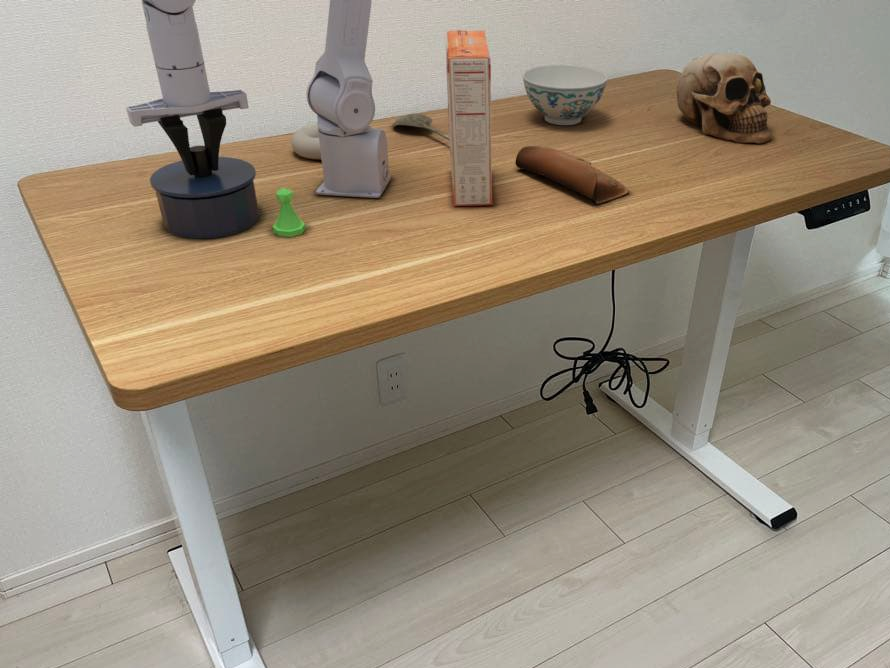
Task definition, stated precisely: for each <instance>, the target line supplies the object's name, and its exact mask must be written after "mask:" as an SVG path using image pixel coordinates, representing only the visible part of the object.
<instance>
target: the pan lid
mask: <svg viewBox="0 0 890 668" xmlns="http://www.w3.org/2000/svg"><path fill="white" fill-rule="evenodd" d="M190 151H191V155H192V159H193V162H194V166H195V171H196V175H190V174H189V173H188V172H187V171H186V169H185V166H184V164H183V161H182V160H179V161H175V162H171V163H168V164H166V165H164V166H161V167H160V168H158V169H156V170H155V171H154V172H153V173H152V174H151V176H150V178H149V184H150V186H151V188H152V189H153V190H154V191H155V190H156V191H157V192H159V193H162V194H165V195H169V196H174V197H186V198H196V197H208V196H215V195H220V194H225V193H229V192H232V191H235V190H238V189H240V188H242V187H244V186H246V185H248V184H249V183H251V182H252V181H253V180H254V181H255V178H256V174H257V172H256V168H255V167H254V165H253V164H252V163H250V162H249V161H246V160H243V159H240V158H236V157H228V156H219V158H218V168H219V170H217V171H213V170H212V168H211V163H210V158H209V153H208V148H207V147H206V146H205V145H194V146H190ZM156 191H155V192H156Z"/></svg>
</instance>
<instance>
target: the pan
mask: <svg viewBox="0 0 890 668" xmlns="http://www.w3.org/2000/svg"><path fill="white" fill-rule="evenodd" d="M154 191H155V195H156V200H157V203H158V207H159V211H160V215H161V220H162V223H163V226H164V227H165V230H167V231H168V232H169V233H171V234H172V235H175V236H178V237H181V238H187V239H197V240H198V239H201V240H202V239H203V240H204V239H205V240H206V239H215V238H216V239H217V238H222V237H228V236H233V235H236V234H238V233H241V232H243V231H246V230H248V229H250V228H251V227H253V226H254V225H255V224H256V223H257V222H258V221H259V219H260V210H259V203H258V198H257V192H256V186H255V179H254V180H253V181H252V182H251V183H249V184H248V185H246V186H244V187H242V188H240V189H238V190H235V191H232V192H229V193H225V194H220V195H215V196H208V197H196V198H186V197H174V196H169V195H165V194H162V193H159V192H157V191H156V190H154Z"/></svg>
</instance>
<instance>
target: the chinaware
mask: <svg viewBox="0 0 890 668" xmlns="http://www.w3.org/2000/svg"><path fill="white" fill-rule="evenodd" d="M522 81H523V86H524V90H525V92H526V95H527V97H528V99H529V101H530V102H531V104H532V105H533V107H534V108H535V109H536V110H537V111H538V112H539V113H541V114H542V115H543V116H544V120H545V122H547V123H549V124H553V125H557V126H572V125H576V124H579V123H580V122H581V121H582V118H583V117H584V116H585V115H587V114H588V113H590V112H591V111H592V110H593V109H594V108H595V107H596V106H597V105H598V103H599V101H601V98H602V96H603V95H604V93H605V90H606V86H607V83H608V82H607V81H608V76H607V74H606V73H604V72H603V71H601V70H599V69H597V68H593V67H588V66H584V65H578V64H577V65H576V64H546V65H538V66H533V67H531V68H529V69H527V70H525V71H524V72H523V74H522Z"/></svg>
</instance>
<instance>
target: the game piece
mask: <svg viewBox="0 0 890 668" xmlns="http://www.w3.org/2000/svg"><path fill="white" fill-rule="evenodd" d="M293 199H294V191H292V190H291V189H289V188H287V187H281V188H280V189H278V190H277V191H276V200H277V201H278V202H280V203H281V205H280V208H279V212H278V215H277V219H276V222H275V223H274V224H273V225H272V232H273V233H274V234H275V235H276V236H278V237H284V238H285V237H286V238H292V237H297V236H299V235H303V234H304V232H306V230H307V226H306V223H305V222H304V221H303V220H301V219H300V217H299V216H298V214H297V213H296V211H295V209H294V207H293V206H292V204H291V202H293Z"/></svg>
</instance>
